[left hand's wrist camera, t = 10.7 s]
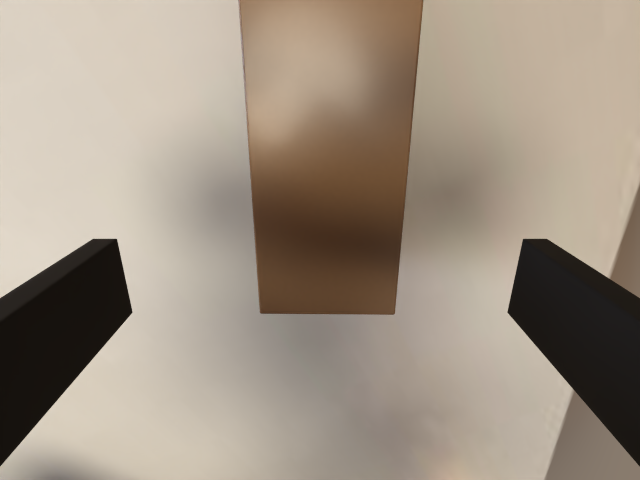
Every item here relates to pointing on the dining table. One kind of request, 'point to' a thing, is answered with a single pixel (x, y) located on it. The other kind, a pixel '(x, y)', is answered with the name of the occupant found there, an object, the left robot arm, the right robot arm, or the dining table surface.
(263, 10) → the brown wooden brick
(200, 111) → the dining table surface
